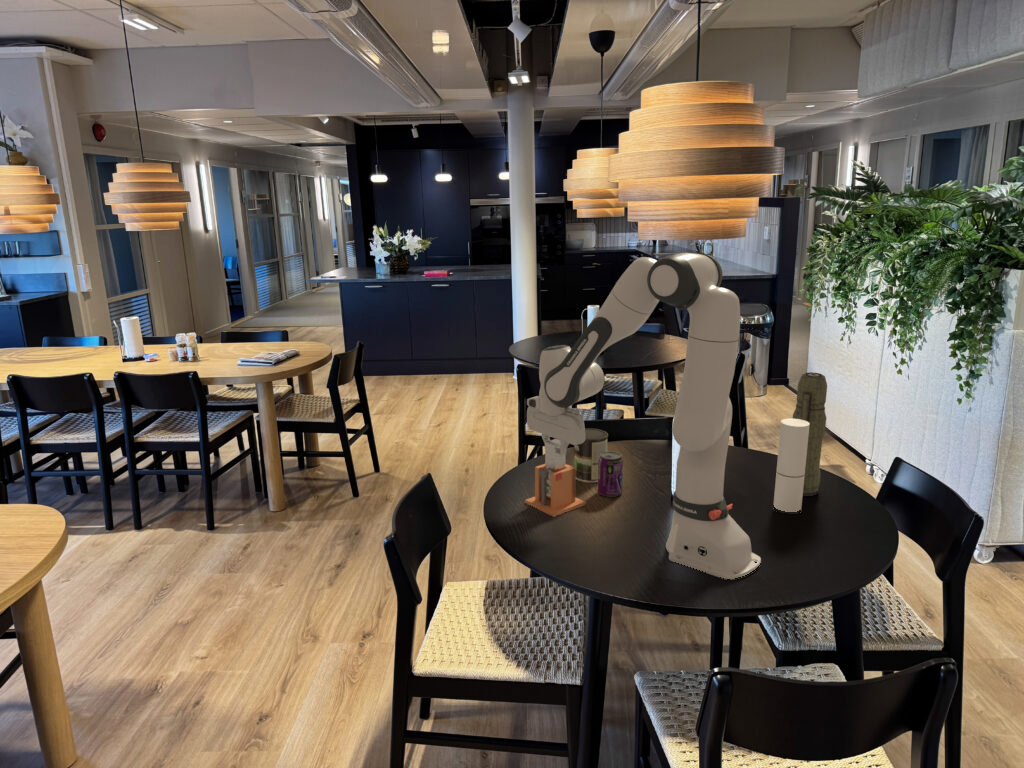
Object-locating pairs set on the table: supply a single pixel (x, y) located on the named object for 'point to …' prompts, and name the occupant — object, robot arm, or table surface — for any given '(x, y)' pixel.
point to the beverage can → (610, 474)
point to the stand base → (555, 491)
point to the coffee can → (589, 455)
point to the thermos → (812, 423)
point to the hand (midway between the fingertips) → (555, 451)
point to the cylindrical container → (791, 464)
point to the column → (553, 460)
